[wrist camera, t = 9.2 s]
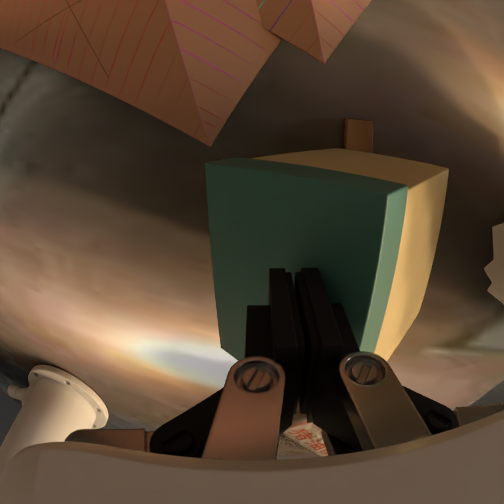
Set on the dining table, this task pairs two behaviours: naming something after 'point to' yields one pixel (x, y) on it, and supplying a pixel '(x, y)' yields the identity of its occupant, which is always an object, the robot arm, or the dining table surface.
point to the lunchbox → (325, 236)
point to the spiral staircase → (497, 264)
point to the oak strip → (358, 135)
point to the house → (172, 47)
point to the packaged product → (306, 434)
